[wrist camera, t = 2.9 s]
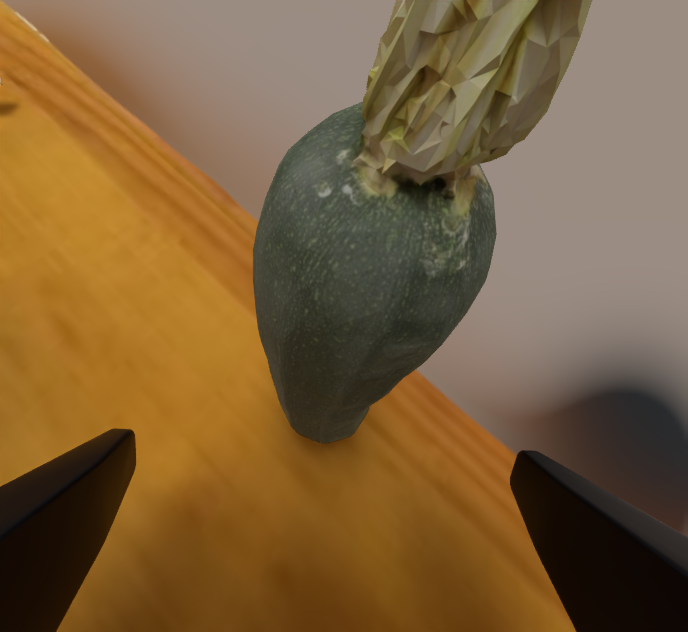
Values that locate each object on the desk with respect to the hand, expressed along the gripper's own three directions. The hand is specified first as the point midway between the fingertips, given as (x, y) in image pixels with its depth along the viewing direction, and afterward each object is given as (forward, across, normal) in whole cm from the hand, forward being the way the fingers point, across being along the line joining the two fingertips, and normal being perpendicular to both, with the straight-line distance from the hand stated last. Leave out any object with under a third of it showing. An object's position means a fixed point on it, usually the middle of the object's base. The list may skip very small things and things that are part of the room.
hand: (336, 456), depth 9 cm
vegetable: (+10, 0, +5) cm, 11 cm away
